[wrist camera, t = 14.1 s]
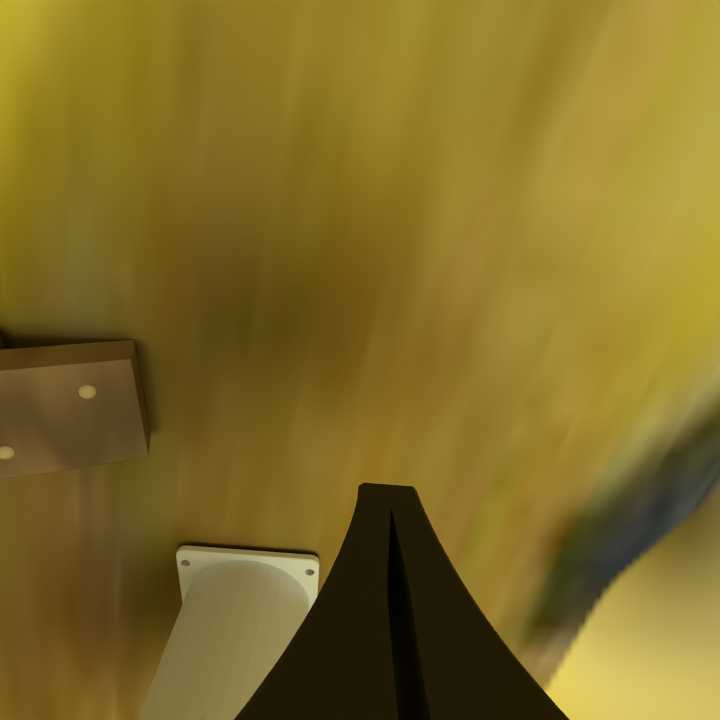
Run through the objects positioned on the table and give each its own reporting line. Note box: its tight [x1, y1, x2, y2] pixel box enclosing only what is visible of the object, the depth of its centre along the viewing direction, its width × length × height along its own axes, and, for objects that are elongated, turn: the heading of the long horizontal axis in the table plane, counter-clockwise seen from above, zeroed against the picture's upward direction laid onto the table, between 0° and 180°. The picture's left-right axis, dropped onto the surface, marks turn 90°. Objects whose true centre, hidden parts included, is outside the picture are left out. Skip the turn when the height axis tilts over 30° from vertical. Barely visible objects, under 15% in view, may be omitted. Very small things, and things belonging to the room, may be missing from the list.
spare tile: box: [0, 340, 151, 480], centre depth 20 cm, size 5×2×7 cm
